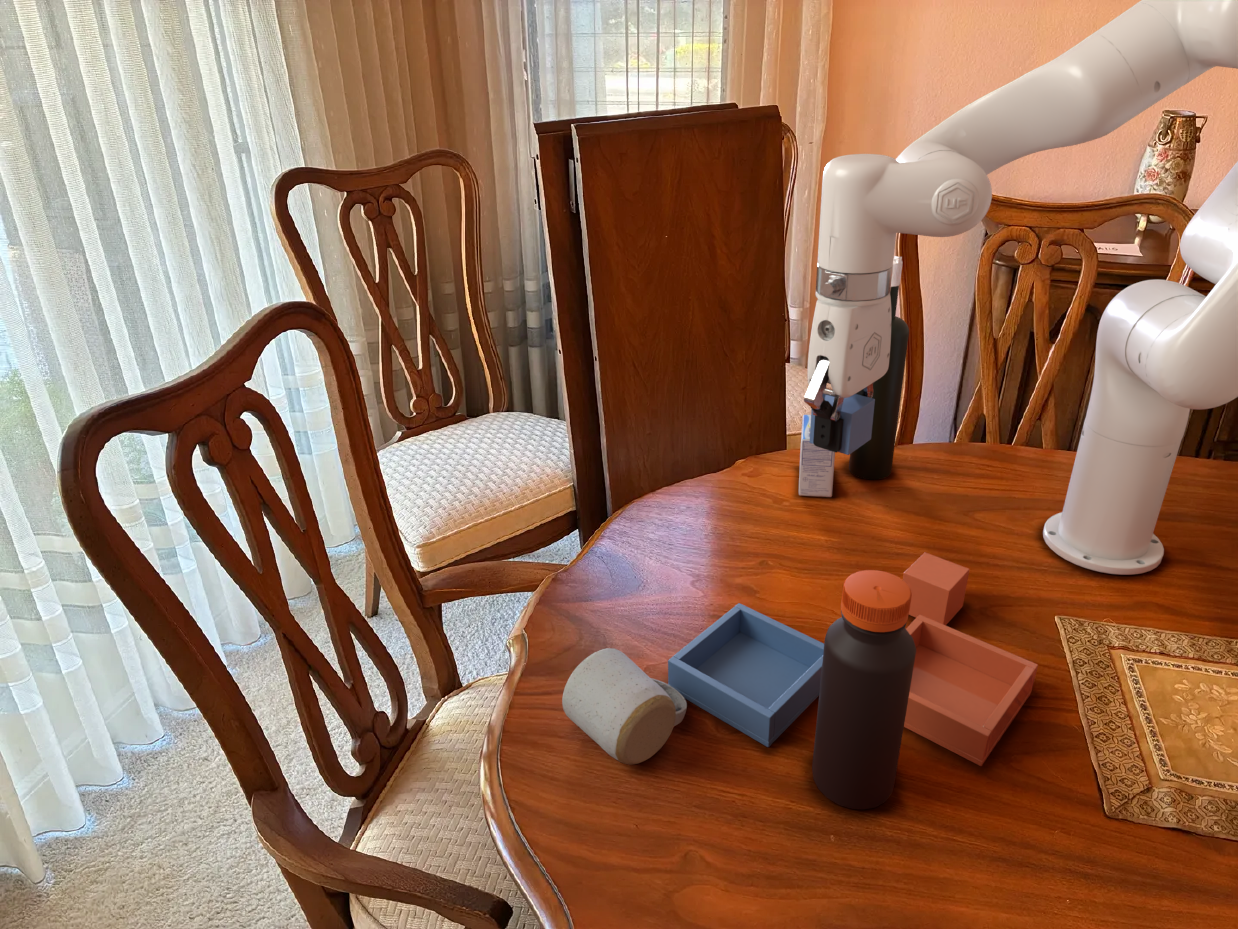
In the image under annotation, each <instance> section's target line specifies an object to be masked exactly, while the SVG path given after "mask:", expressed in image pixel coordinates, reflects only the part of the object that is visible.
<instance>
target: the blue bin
mask: <svg viewBox="0 0 1238 929" xmlns="http://www.w3.org/2000/svg"><path fill="white" fill-rule="evenodd" d="M823 652H824V642H822V641H819V640H817V639H816V638H813V637H811V636H809V635H807V634H805V633H803V632H801V631H799V630H797V629H795V628H792V627H790V626H788V625H786V624H784V623H782V622H780V621H778V620H775V619H774V618H771V617H769V616H768V615H766V614H763V613H761V612H759V611H757V610H755V609H753V608H751V607H749V606H747V605H744V604H742V603H740V602H738V603H737V604H735V605H734V606H733V607H732V608H731V609H730V610H728V611H727V612H725V613H724V614H723V615H722V616H721V617H719V618H718V619H717V620H716V621H714V623H712V624H711V625H710V626H708V627H706V629H704V630H703V631H702V632H701V633H699V635H697V636H696V637H695V638H693V639H692V640H691V641H690V642H689V643H687V644H686V645H685V646H683V647H682V648H681V649H680V650H679V651H677V652H676V653H675V654H673V655H672V656H671V657H670V658H669V659H668V660H667V684H668V685H670V686H671V687H673V688H675V689H676V690H677V691H678V692H679V693H680V694H681V695H682V696H683V697H684V698H685V700H686V701H687V702H690V703H692V704H693V705H695V706H697V707H698V708H701V709H702V710H703V711H706V712H707V713H709V714H710V715H712V716H714V717H716V718H717V719H718V720H720V721H722V722H724V723H725V724H727V725H729V726H730V727H732V728H734V729H736V730H737V731H739V732H741V733H743V734H744V735H746V736H748V737H750V738H751V739H753V740H755V741H756V742H758V743H759V744H761V745H763V746H765V747H767V748H770V746H771V745H773V744H774V742H775V741H776V740H777V739H779V737H780V736H781V735H782V734H783V733H784V732H785V731H786V730H787V729H788V728H789V727H790V726H791V725H792V724H793V723H794V722H795V721H796V720H797V719H798V718H799V717H800V716H801V715H802V713H804V711H805V710H807V708H808V707H810V705H811V704H813V702H814V701H816V699H817V698H819V693H820V683H821V672H822V662H823Z"/></svg>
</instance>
